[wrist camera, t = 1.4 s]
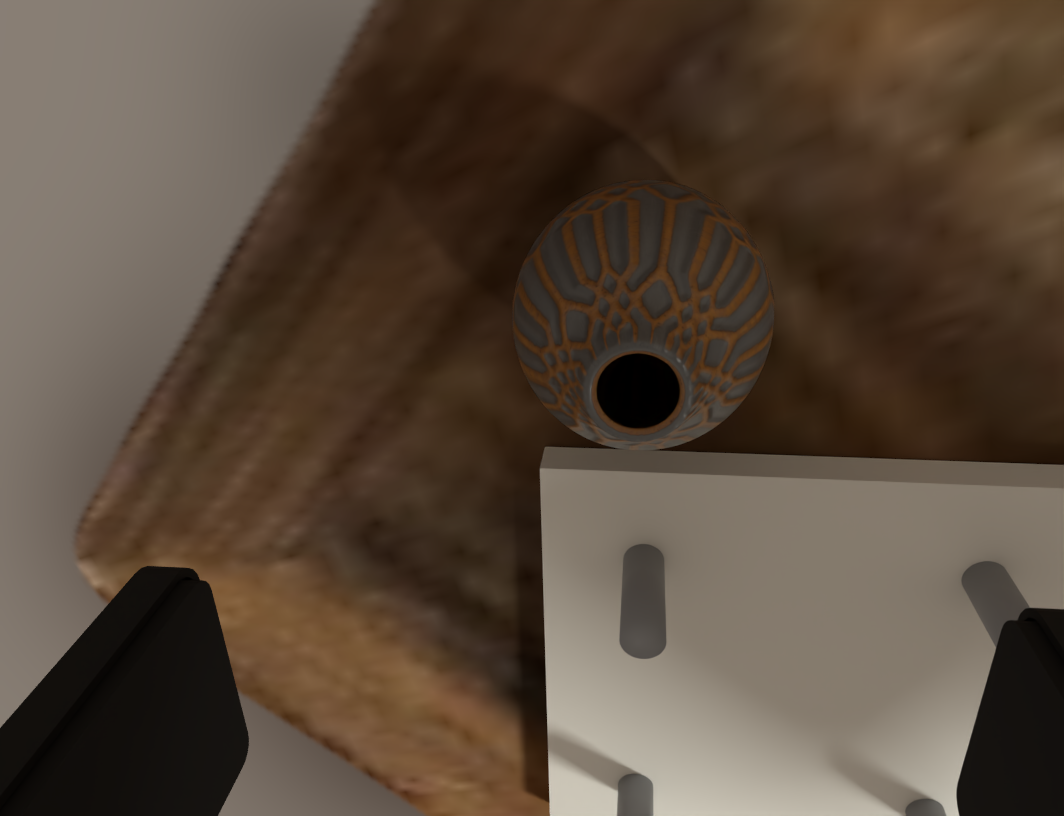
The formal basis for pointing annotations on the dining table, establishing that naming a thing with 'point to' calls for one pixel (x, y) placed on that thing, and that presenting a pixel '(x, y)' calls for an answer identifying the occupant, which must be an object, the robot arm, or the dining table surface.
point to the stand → (779, 625)
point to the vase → (643, 315)
